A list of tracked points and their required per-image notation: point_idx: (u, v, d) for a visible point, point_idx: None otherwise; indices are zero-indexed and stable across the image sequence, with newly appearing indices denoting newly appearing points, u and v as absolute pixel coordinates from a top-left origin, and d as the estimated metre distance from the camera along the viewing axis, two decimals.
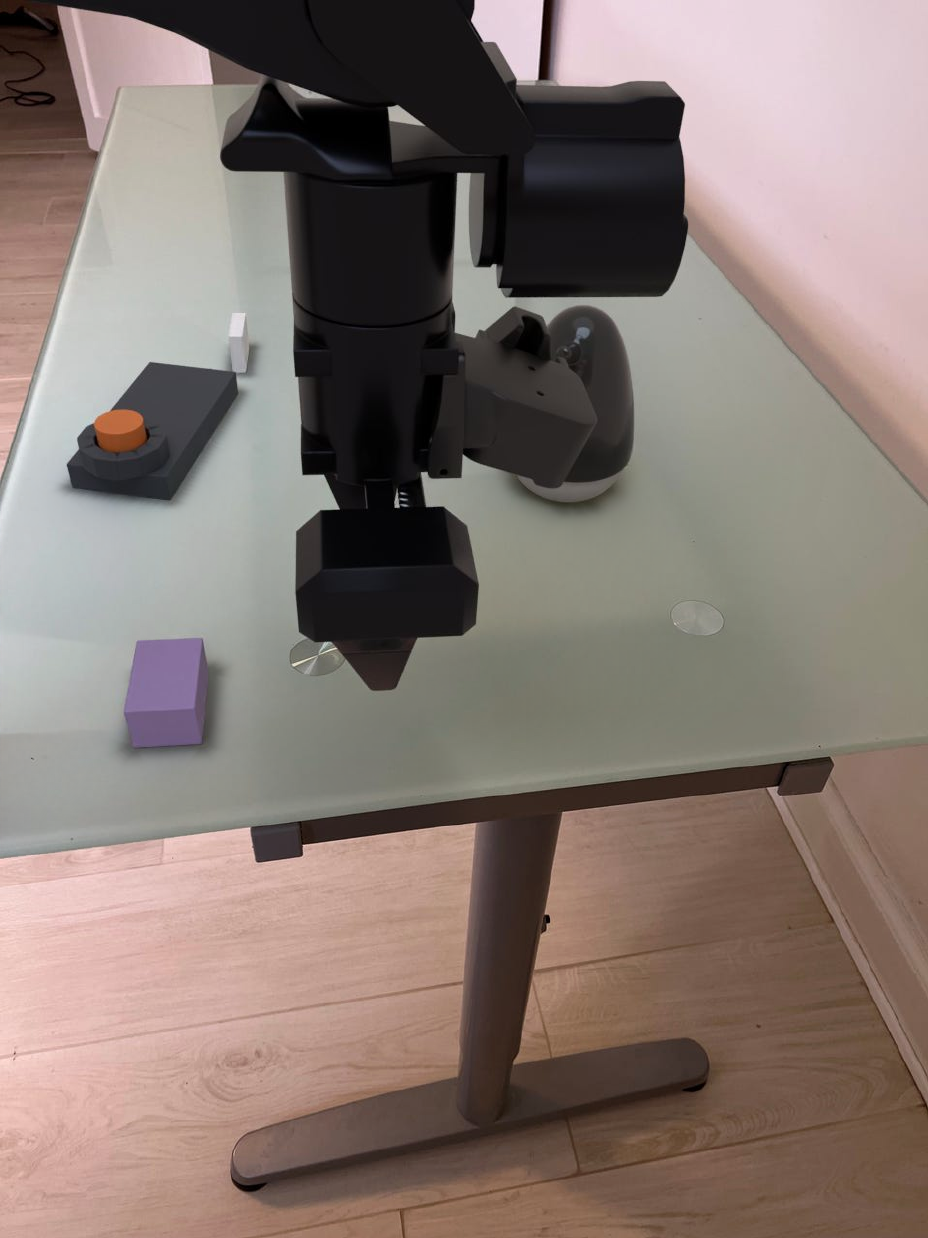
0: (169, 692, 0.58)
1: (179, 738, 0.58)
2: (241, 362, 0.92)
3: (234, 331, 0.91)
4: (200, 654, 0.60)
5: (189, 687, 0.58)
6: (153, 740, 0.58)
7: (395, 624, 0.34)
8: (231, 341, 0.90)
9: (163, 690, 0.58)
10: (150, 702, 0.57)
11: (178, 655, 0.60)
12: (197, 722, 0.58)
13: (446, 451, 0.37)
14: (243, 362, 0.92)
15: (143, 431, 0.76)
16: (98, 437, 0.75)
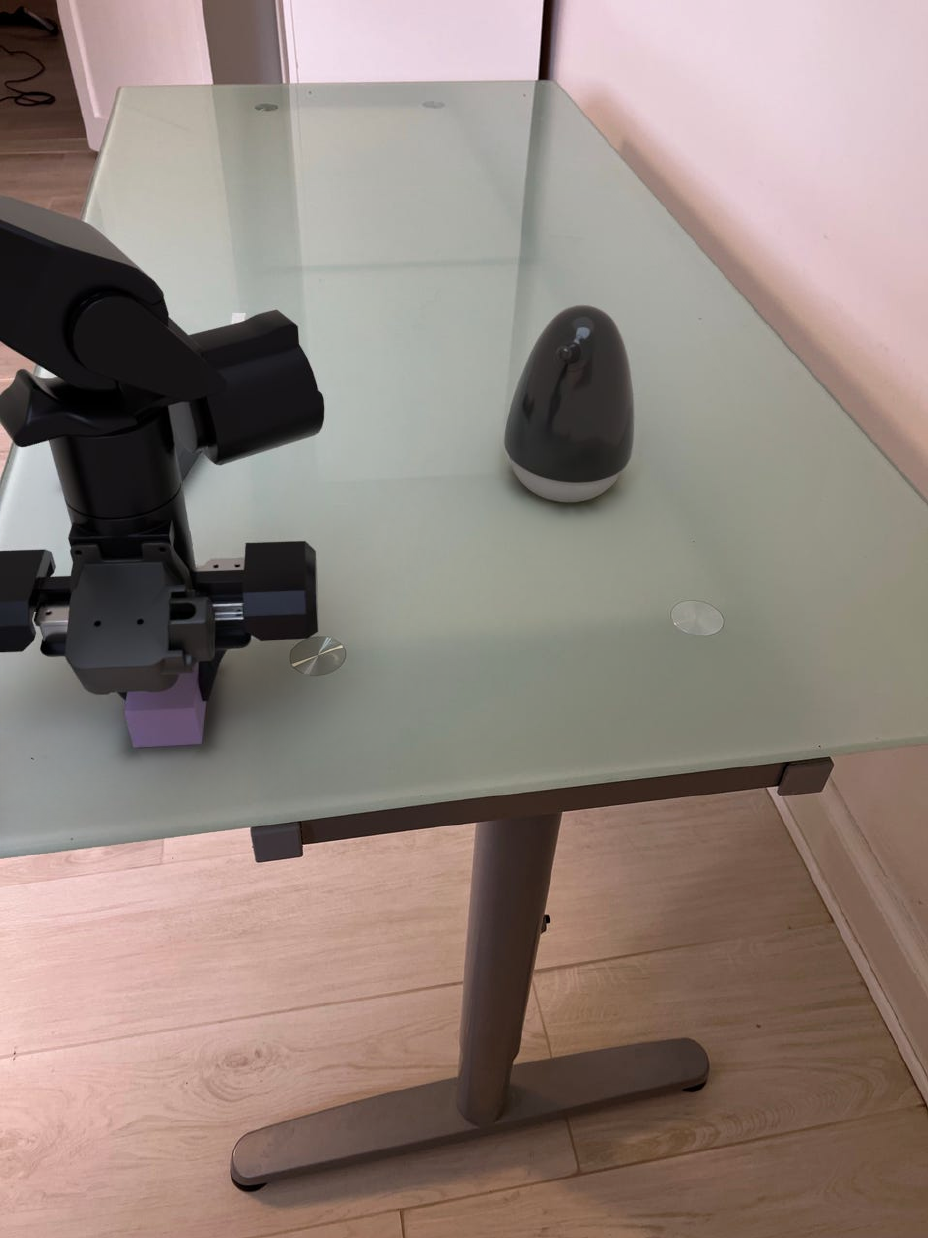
0: (169, 691, 0.58)
1: (179, 738, 0.58)
2: None
3: None
4: None
5: (189, 687, 0.58)
6: (153, 740, 0.58)
7: None
8: None
9: None
10: (150, 702, 0.57)
11: None
12: (197, 722, 0.58)
13: None
14: None
15: None
16: None
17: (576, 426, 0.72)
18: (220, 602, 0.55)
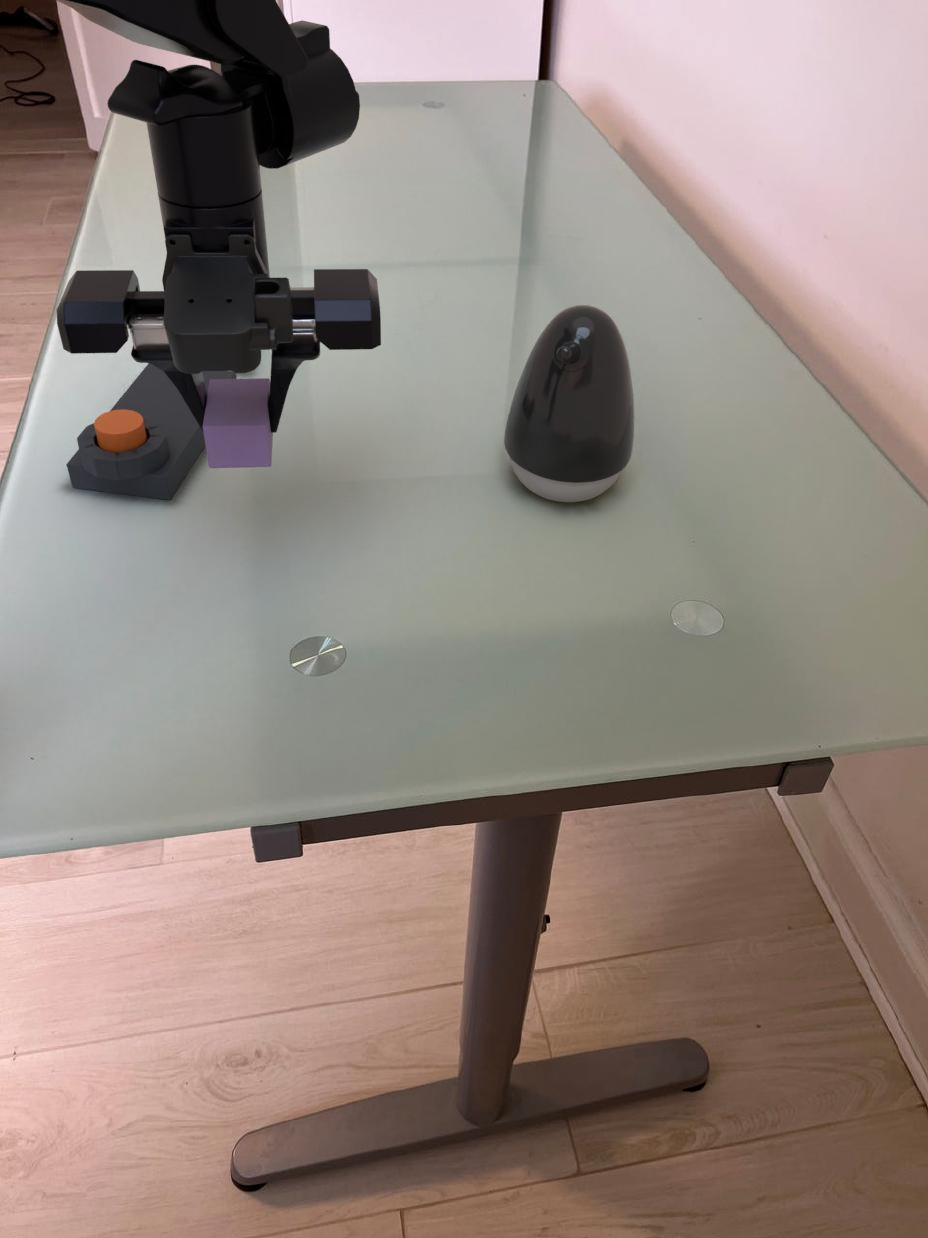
0: (243, 413, 0.63)
1: (251, 459, 0.64)
2: None
3: None
4: (268, 389, 0.66)
5: (260, 411, 0.64)
6: (227, 460, 0.64)
7: None
8: None
9: (237, 412, 0.63)
10: (226, 420, 0.63)
11: (248, 389, 0.66)
12: (268, 442, 0.63)
13: None
14: None
15: (143, 431, 0.76)
16: (98, 437, 0.75)
17: (576, 426, 0.72)
18: (292, 318, 0.60)
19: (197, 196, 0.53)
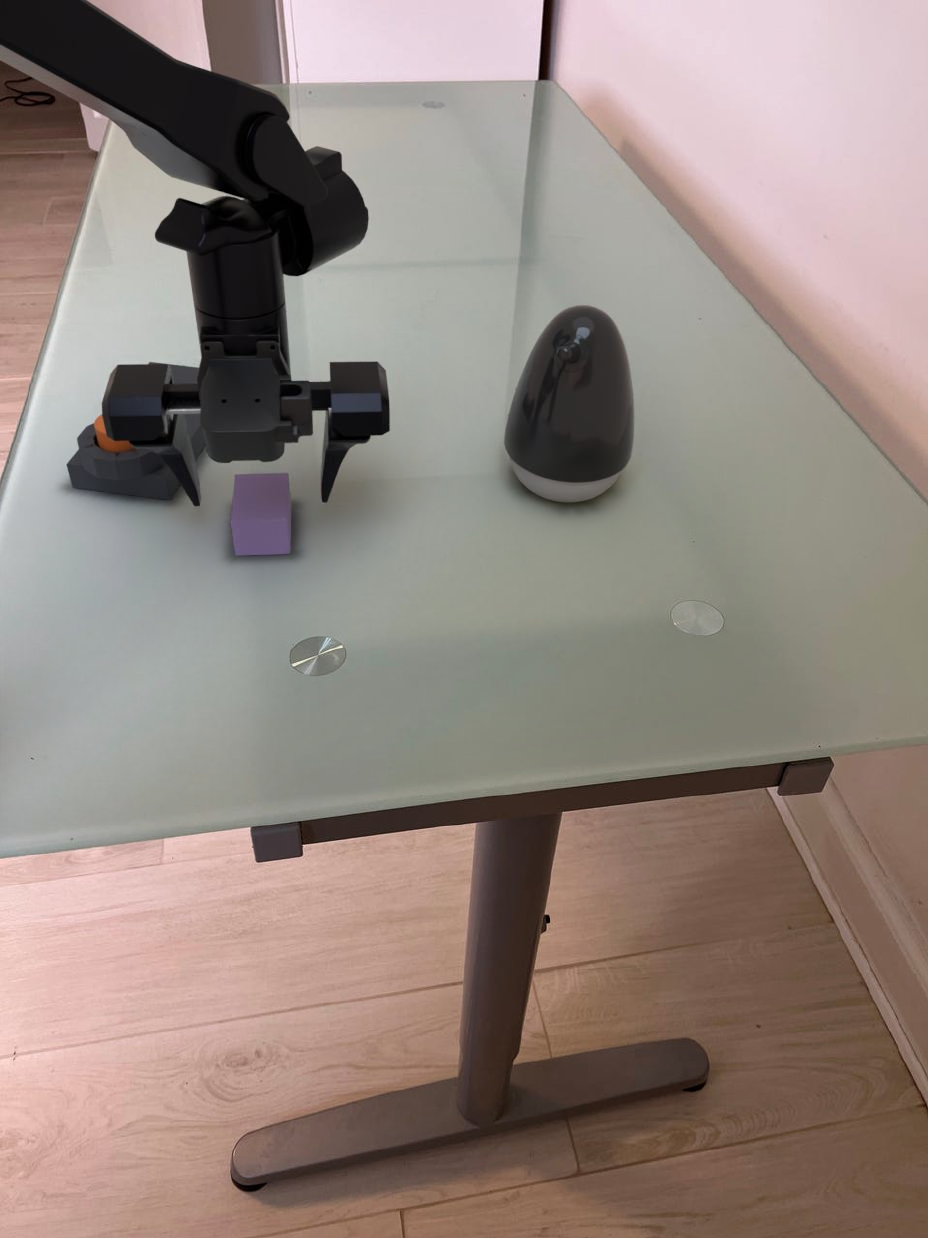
0: (266, 508, 0.71)
1: (272, 547, 0.72)
2: None
3: None
4: (287, 484, 0.74)
5: (281, 505, 0.72)
6: (251, 549, 0.72)
7: None
8: None
9: (260, 507, 0.72)
10: (251, 515, 0.71)
11: (270, 484, 0.74)
12: (288, 533, 0.72)
13: None
14: None
15: None
16: (98, 437, 0.75)
17: (576, 426, 0.72)
18: None
19: (231, 309, 0.60)
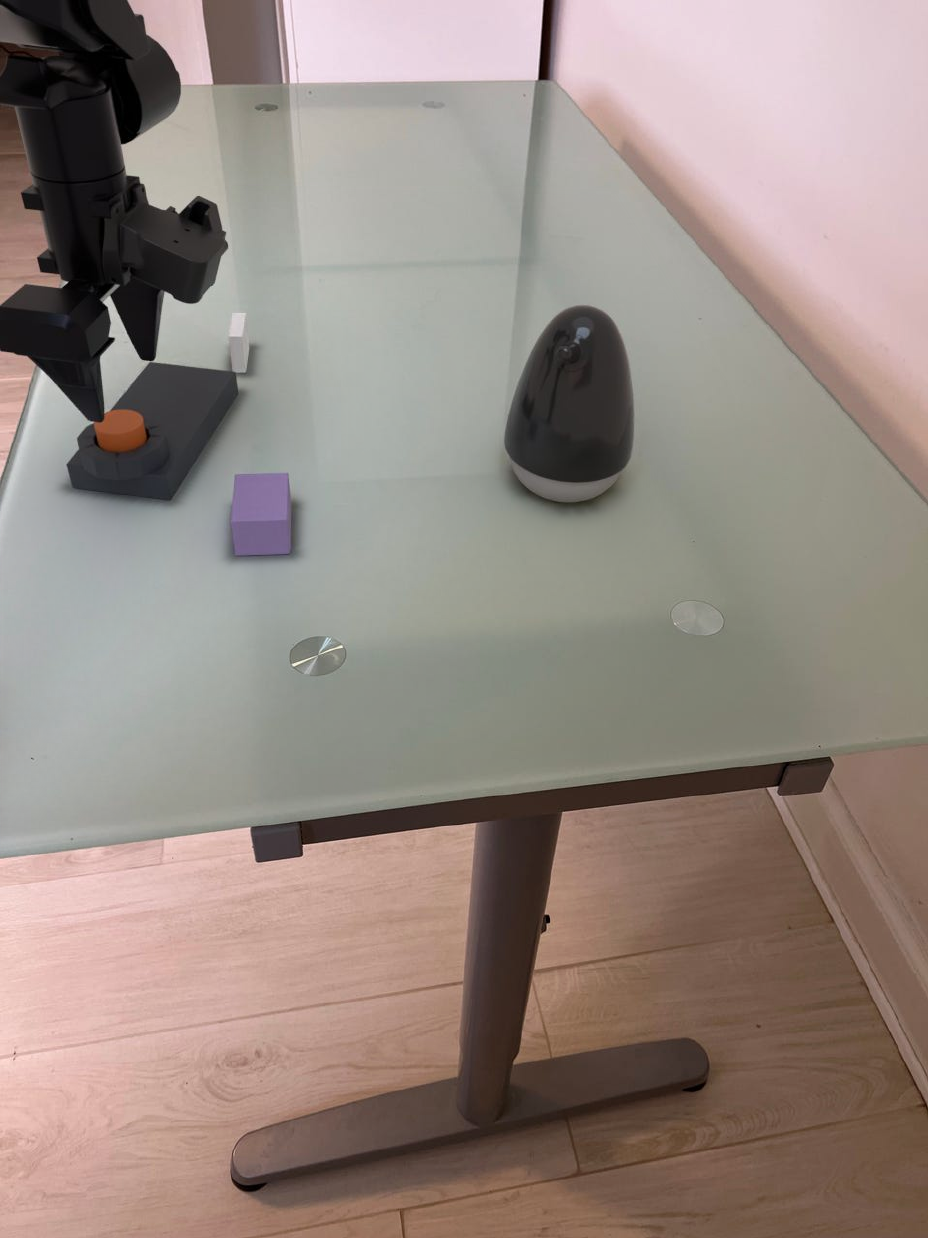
0: (266, 508, 0.71)
1: (272, 547, 0.72)
2: (241, 362, 0.92)
3: (234, 331, 0.91)
4: (287, 484, 0.74)
5: (281, 505, 0.72)
6: (251, 549, 0.72)
7: (40, 346, 0.61)
8: (231, 341, 0.90)
9: (260, 507, 0.72)
10: (251, 515, 0.71)
11: (270, 484, 0.74)
12: (288, 533, 0.72)
13: (111, 265, 0.63)
14: (243, 362, 0.92)
15: (143, 431, 0.76)
16: (98, 437, 0.75)
17: (576, 426, 0.72)
18: None
19: (79, 172, 0.60)
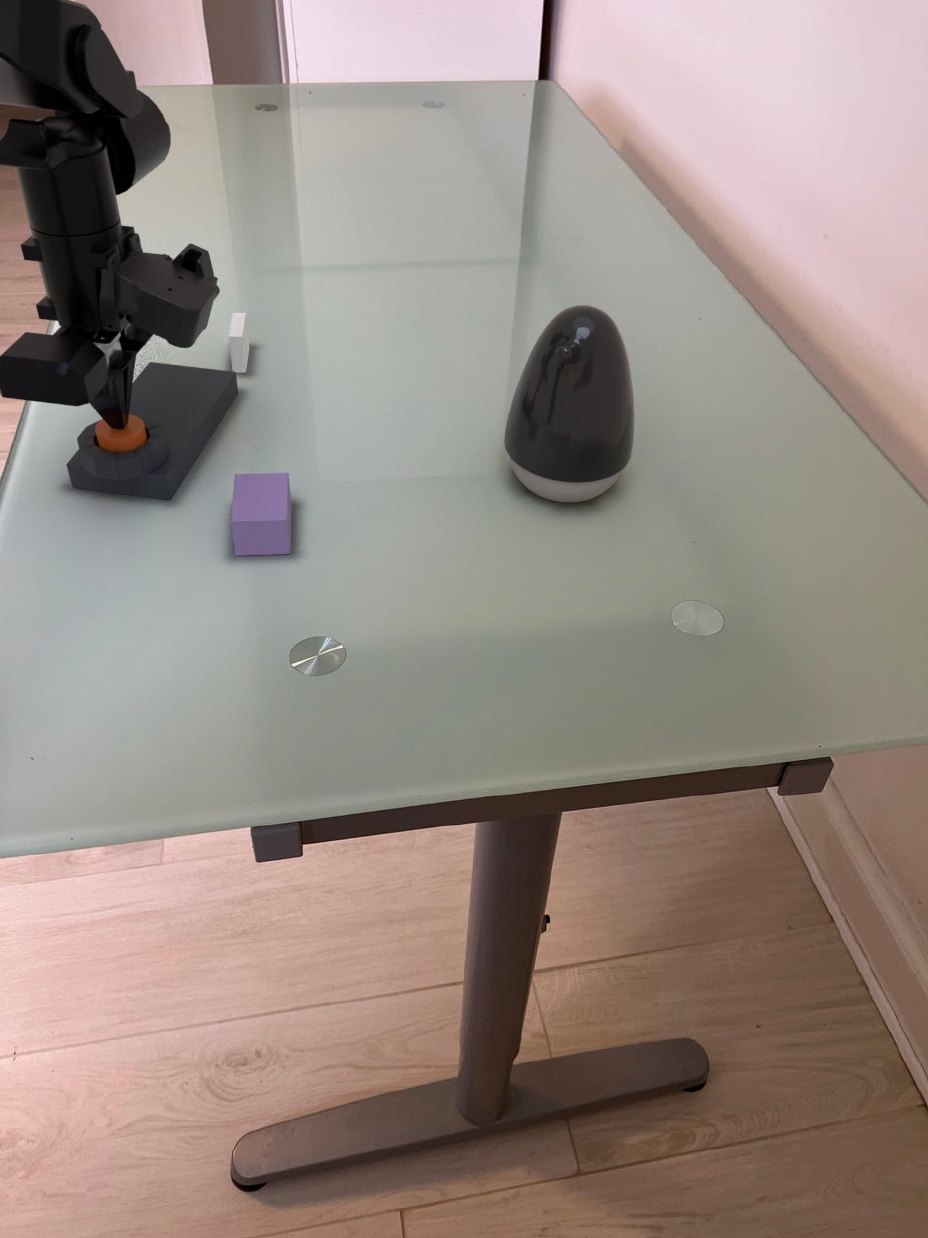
0: (266, 508, 0.71)
1: (272, 547, 0.72)
2: (241, 362, 0.92)
3: (234, 331, 0.91)
4: (287, 484, 0.74)
5: (281, 505, 0.72)
6: (251, 549, 0.72)
7: (40, 392, 0.63)
8: (231, 341, 0.90)
9: (260, 507, 0.72)
10: (251, 515, 0.71)
11: (270, 484, 0.74)
12: (288, 533, 0.72)
13: (108, 313, 0.66)
14: (243, 362, 0.92)
15: (144, 436, 0.76)
16: (99, 442, 0.75)
17: (576, 426, 0.72)
18: None
19: (77, 226, 0.63)
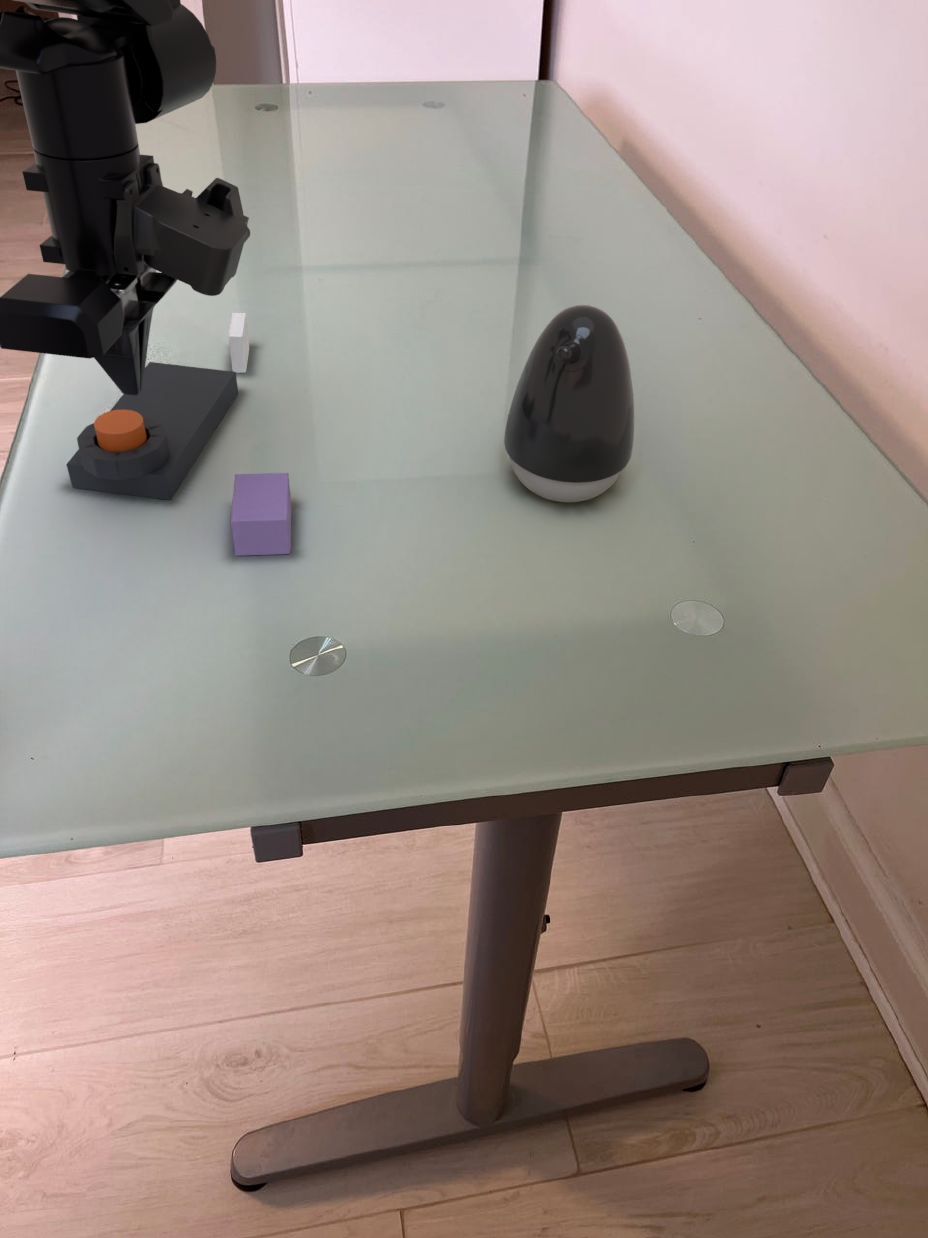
0: (266, 508, 0.71)
1: (272, 547, 0.72)
2: (241, 362, 0.92)
3: (233, 331, 0.91)
4: (287, 484, 0.74)
5: (281, 505, 0.72)
6: (251, 549, 0.72)
7: (46, 342, 0.54)
8: (231, 341, 0.90)
9: (260, 507, 0.72)
10: (251, 515, 0.71)
11: (270, 484, 0.74)
12: (288, 533, 0.72)
13: (124, 253, 0.57)
14: (243, 362, 0.92)
15: (143, 431, 0.76)
16: (98, 437, 0.75)
17: (576, 426, 0.72)
18: None
19: (80, 148, 0.54)
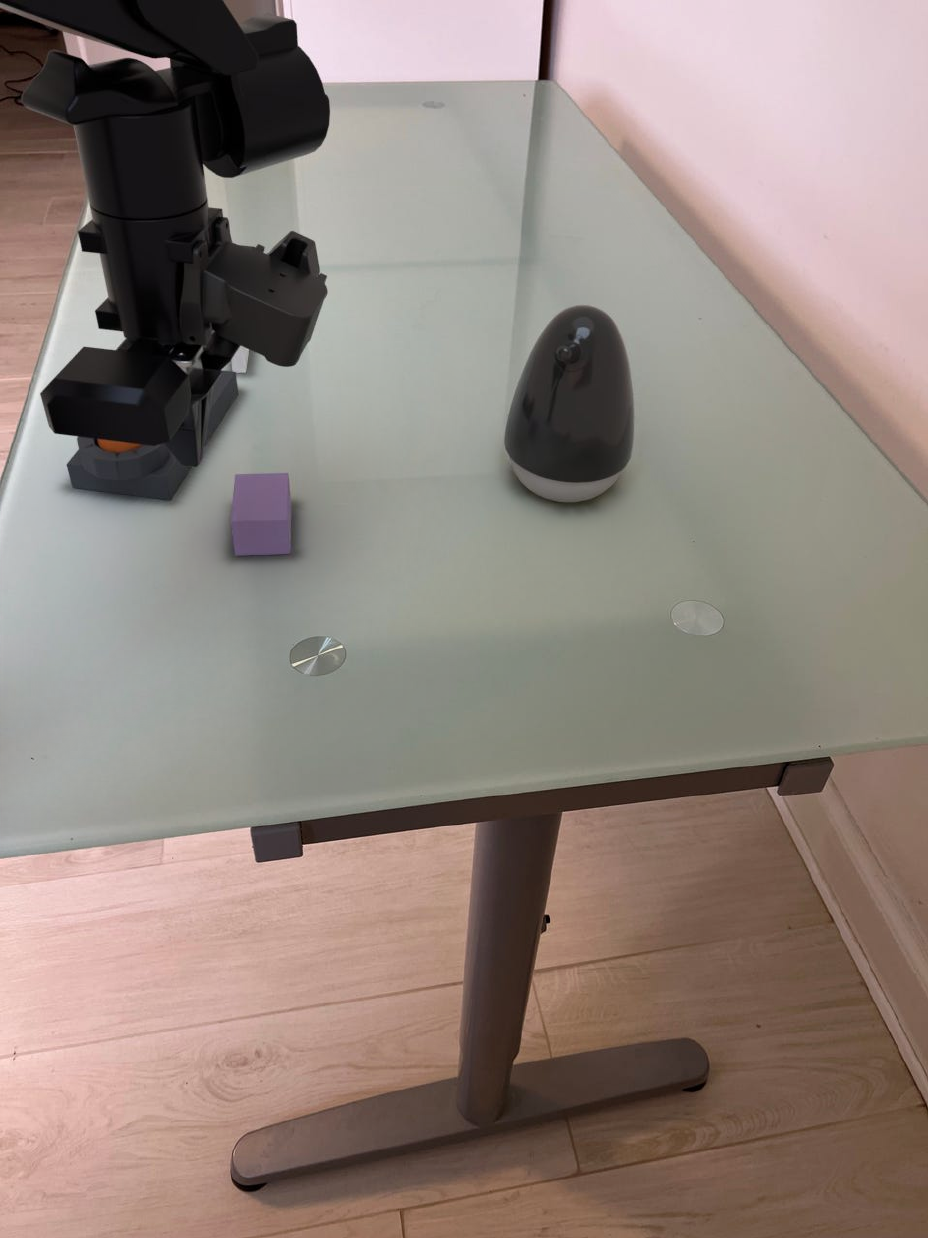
0: (266, 508, 0.71)
1: (273, 547, 0.72)
2: (241, 362, 0.92)
3: None
4: (287, 484, 0.74)
5: (281, 505, 0.72)
6: (251, 549, 0.72)
7: (105, 428, 0.48)
8: None
9: (260, 507, 0.72)
10: (251, 515, 0.71)
11: (270, 484, 0.74)
12: (288, 533, 0.72)
13: (191, 322, 0.50)
14: (243, 362, 0.92)
15: None
16: None
17: (576, 426, 0.72)
18: None
19: (126, 206, 0.47)
